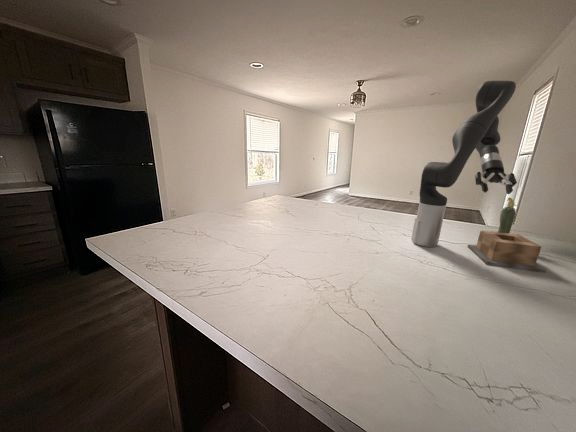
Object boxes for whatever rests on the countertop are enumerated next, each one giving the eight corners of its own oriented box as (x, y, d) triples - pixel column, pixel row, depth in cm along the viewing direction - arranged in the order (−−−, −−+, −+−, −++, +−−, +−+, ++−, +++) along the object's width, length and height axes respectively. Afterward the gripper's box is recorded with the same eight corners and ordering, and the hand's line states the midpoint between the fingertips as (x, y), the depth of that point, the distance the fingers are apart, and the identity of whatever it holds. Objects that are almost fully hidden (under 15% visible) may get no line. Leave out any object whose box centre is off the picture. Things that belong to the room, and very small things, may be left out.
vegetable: (508, 247, 94) (523, 199, 88) (496, 246, 95) (510, 198, 89) (501, 243, 98) (514, 197, 93) (489, 242, 99) (502, 196, 93)
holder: (486, 264, 79) (492, 242, 76) (467, 246, 93) (472, 228, 91) (545, 272, 74) (554, 250, 72) (516, 252, 89) (522, 233, 86)
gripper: (477, 158, 108) (482, 186, 100) (515, 159, 103) (523, 188, 96) (470, 169, 114) (474, 195, 107) (505, 170, 110) (512, 198, 102)
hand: (497, 192), depth 101 cm, fingers open, 8 cm apart
